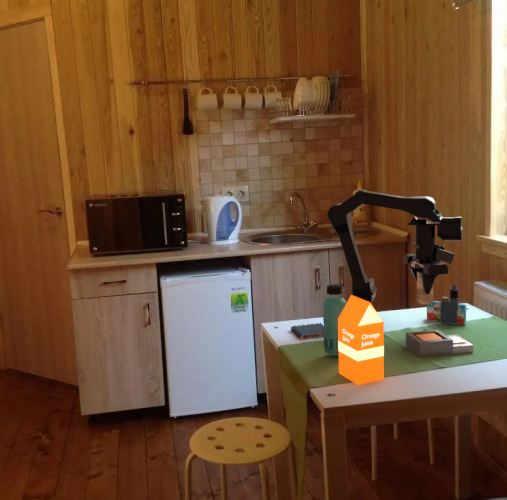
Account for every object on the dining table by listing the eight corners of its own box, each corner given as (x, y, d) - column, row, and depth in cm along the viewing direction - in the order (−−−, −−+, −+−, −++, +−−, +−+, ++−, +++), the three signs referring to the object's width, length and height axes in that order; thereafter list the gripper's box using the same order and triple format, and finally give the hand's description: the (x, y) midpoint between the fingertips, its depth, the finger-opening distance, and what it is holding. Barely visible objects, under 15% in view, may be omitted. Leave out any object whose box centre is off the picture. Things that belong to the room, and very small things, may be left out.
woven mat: (333, 337, 189) (333, 331, 188) (299, 341, 186) (299, 335, 186) (322, 328, 199) (321, 321, 199) (289, 331, 197) (289, 325, 196)
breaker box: (420, 357, 168) (420, 343, 167) (405, 346, 177) (405, 332, 177) (473, 352, 171) (473, 337, 170) (456, 341, 180) (456, 327, 179)
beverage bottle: (350, 354, 173) (349, 283, 169) (343, 362, 167) (342, 288, 163) (328, 351, 176) (326, 281, 172) (320, 359, 170) (318, 287, 166)
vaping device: (458, 324, 195) (459, 286, 193) (440, 324, 196) (441, 286, 193) (457, 321, 197) (457, 284, 195) (439, 321, 198) (440, 284, 196)
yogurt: (426, 319, 201) (426, 301, 200) (428, 318, 202) (428, 300, 201) (464, 325, 194) (464, 305, 193) (466, 323, 196) (466, 304, 194)
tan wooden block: (421, 304, 184) (422, 274, 183) (416, 301, 188) (416, 272, 186) (433, 303, 185) (433, 273, 183) (427, 300, 188) (428, 271, 187)
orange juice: (357, 385, 152) (356, 304, 148) (338, 373, 160) (337, 296, 156) (384, 379, 155) (384, 300, 151) (364, 367, 163) (363, 292, 159)
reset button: (423, 346, 170) (423, 340, 170) (415, 339, 175) (415, 334, 175) (443, 344, 171) (443, 339, 171) (434, 338, 176) (434, 332, 176)
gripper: (466, 243, 175) (466, 297, 178) (436, 233, 193) (436, 283, 196) (429, 246, 173) (428, 301, 176) (402, 236, 191) (402, 286, 194)
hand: (424, 292), depth 186 cm, fingers closed on tan wooden block, 3 cm apart
